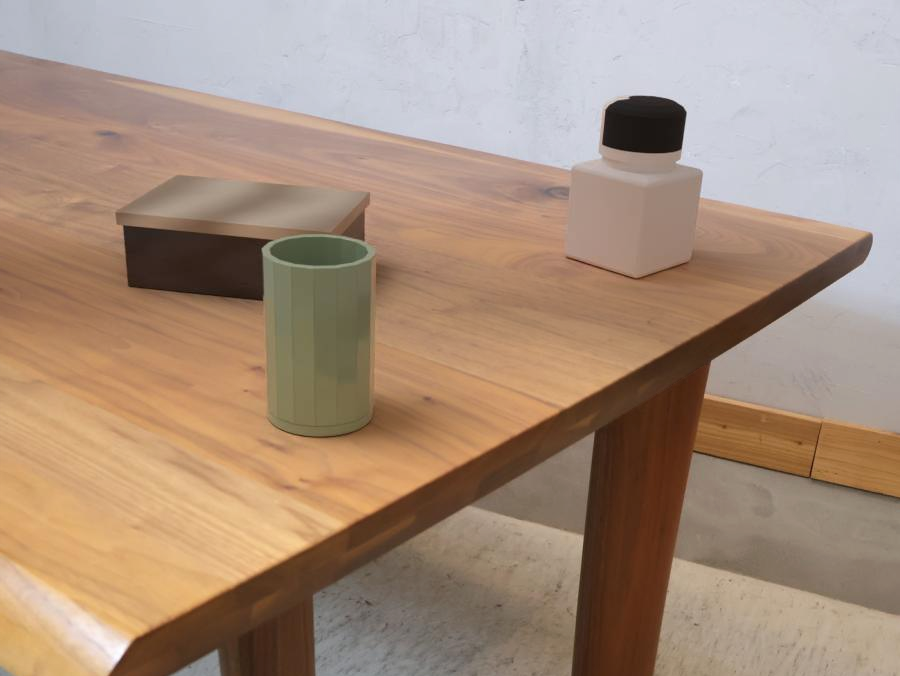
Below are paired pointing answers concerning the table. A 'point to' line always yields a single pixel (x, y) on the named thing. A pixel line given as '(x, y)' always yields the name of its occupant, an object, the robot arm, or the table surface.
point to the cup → (319, 333)
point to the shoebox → (226, 230)
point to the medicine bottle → (635, 191)
